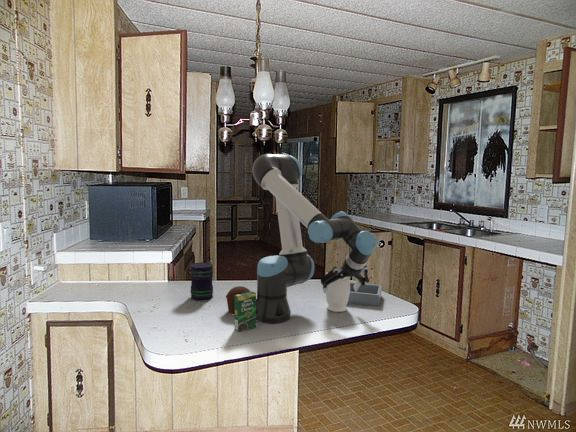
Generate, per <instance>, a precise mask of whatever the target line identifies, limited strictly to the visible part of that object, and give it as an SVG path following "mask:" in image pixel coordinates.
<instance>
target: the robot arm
mask: <svg viewBox="0 0 576 432" xmlns="http://www.w3.org/2000/svg"><path fill="white" fill-rule="evenodd" d="M251 170H252V176H253V179H254V181H255V182H256V184H257V185H259V186H260V188H261V189H262V190H265V191H269V192H270V194H272V195H273V196H274V197H275V202H276V210H277V219H278V226H279V228H278V229H279V234H280V243H281V250H280V252H279V255H269V256H265V257H263V258H261V259H260V260H259V261H258V262H257V268H256V276H257V277H256V282H257V283H256V284H257V285H256V288H257V289H256V322H260V323H265V324H279V323H284V322H287V321H289V320H290V319H291V317H292V316H291V314H292V312H291V308H290V304H289V301H288V297H287V295H288V290H287V289H288V288H290V287H292V286H297V285H301V284H303V283H305V282H308V281H310V279H311V278H312V277H313V276H314V273H315V261H314V260H313V258H311V257H312V256H311V255H309V254H308V250H307V249H306V247H304V246H303V240H302V239H303V238H302V232H301V230H302V229H301V224H302V225H303V226H304V227H306V229H307V234H308V237H309V239H310V240H311V242H314V243H315V244H320V243H321V244H323V243H329V242H332V241H339V240H342V242H344V243H345V244H346V245H347V247H349V251H348V254H347V255H346V256H345V259H344V261H343V263H342V266H341V267H340V268H337V266H334V267H333V268H332V269H331V270H330V271H327V272H326V273H327V274H326V273H325V274H324V275H323V276H322V277H320V282H321V285H322V290H323V294H326V292H327V290H328V288H329V286H330V283H332V282H334V281H336V280H338V279H343V278H345V277H350V278H355V279H356V280H355V282H354V283H355V284H354V286H353V287H354V290H355V292H357V290H358V289H359V287H360V286H362V285H365V284H366V283H369V282H370V279H369V276H368V274H369V273H368V272H369V269H368V267H367V265H366V264H367V263H368V261H369V259H370V257H371V256H372V254H373V253H374V252H375V249H376V247H377V245H378V238H377V236H376V235H375V234H374V233H373V232H371V231H369V230H362V229H361V228H360V226H359V225H358V224H357V223H356V222H355V221H354V220H353V218H352V217H351V216H350V215H348V214H347V212H345V211H338V212H336V213H335V214H334V215H332V217H331V218H330V219H329V218H328V217H326V216H325V215H324V214H323V213H322V212H321V211H320V210H319V209H318V208H316V206H315V205H313V203H311V201H309V200H308V199H307V198H306V197H305V196H304V195H303V194H302V192H300V191H299V190H298V189H297V188H298V187H299V181H300V180H301V177H302V174H303V168H302V165H301V162H300V161H299V159H297V158H296V157H294V156H292V155H289V154H274V153H273V154H272V153H265V154H262V155H260V156H258V157H257V158H256V159H255V160H254V161H253V165H252V168H251ZM361 273H362V274H363V275H364V277H363V275H362V274H361ZM341 274H342V275H343V276H342V275H341Z"/></svg>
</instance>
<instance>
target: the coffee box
mask: <svg viewBox="0 0 576 432" xmlns="http://www.w3.org/2000/svg"><path fill="white" fill-rule="evenodd" d="M256 299H257V292H255V291H253V290H252V291H251V292H248V293H243V294H238V295H234V315H233V317H234V319H233V320H234V326H233V328H234V330H235V331H236V332H242V331H243V332H244V331H245V330H246V331H248V330H250V329H254V328H257V320H256Z"/></svg>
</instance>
